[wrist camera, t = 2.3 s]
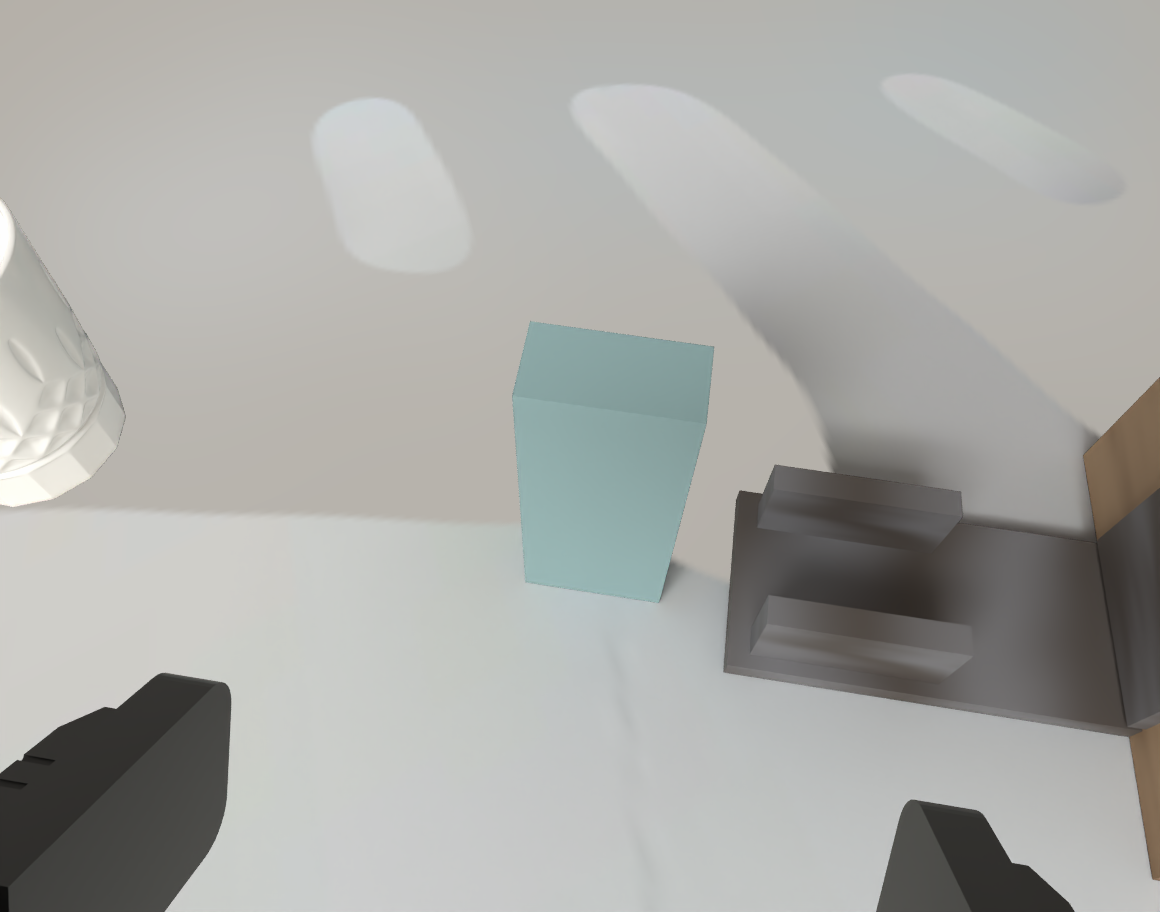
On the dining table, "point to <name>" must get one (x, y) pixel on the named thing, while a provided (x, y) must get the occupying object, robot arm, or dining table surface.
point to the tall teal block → (606, 455)
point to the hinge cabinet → (964, 599)
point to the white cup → (47, 382)
